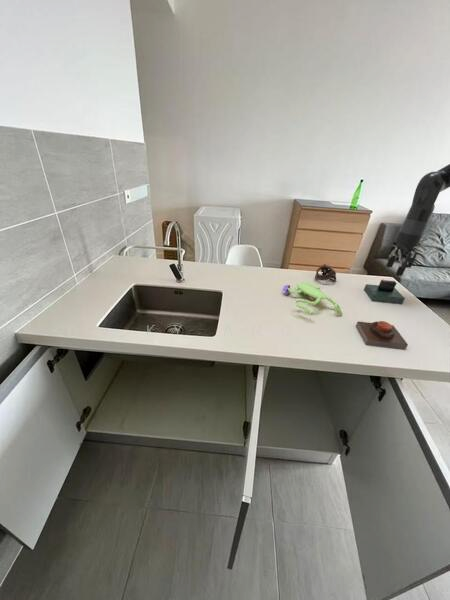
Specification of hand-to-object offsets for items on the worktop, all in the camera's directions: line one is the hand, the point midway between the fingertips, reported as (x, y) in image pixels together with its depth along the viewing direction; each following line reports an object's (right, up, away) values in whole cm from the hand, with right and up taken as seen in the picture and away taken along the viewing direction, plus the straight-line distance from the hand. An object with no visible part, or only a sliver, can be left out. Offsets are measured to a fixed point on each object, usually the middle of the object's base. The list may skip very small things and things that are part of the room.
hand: (393, 271), depth 99 cm
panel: (0, -10, +7) cm, 12 cm away
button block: (-17, -24, -18) cm, 35 cm away
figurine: (-35, -13, -1) cm, 37 cm away
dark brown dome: (-21, -2, +19) cm, 28 cm away
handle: (0, -8, +5) cm, 9 cm away
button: (-17, -21, -20) cm, 34 cm away
